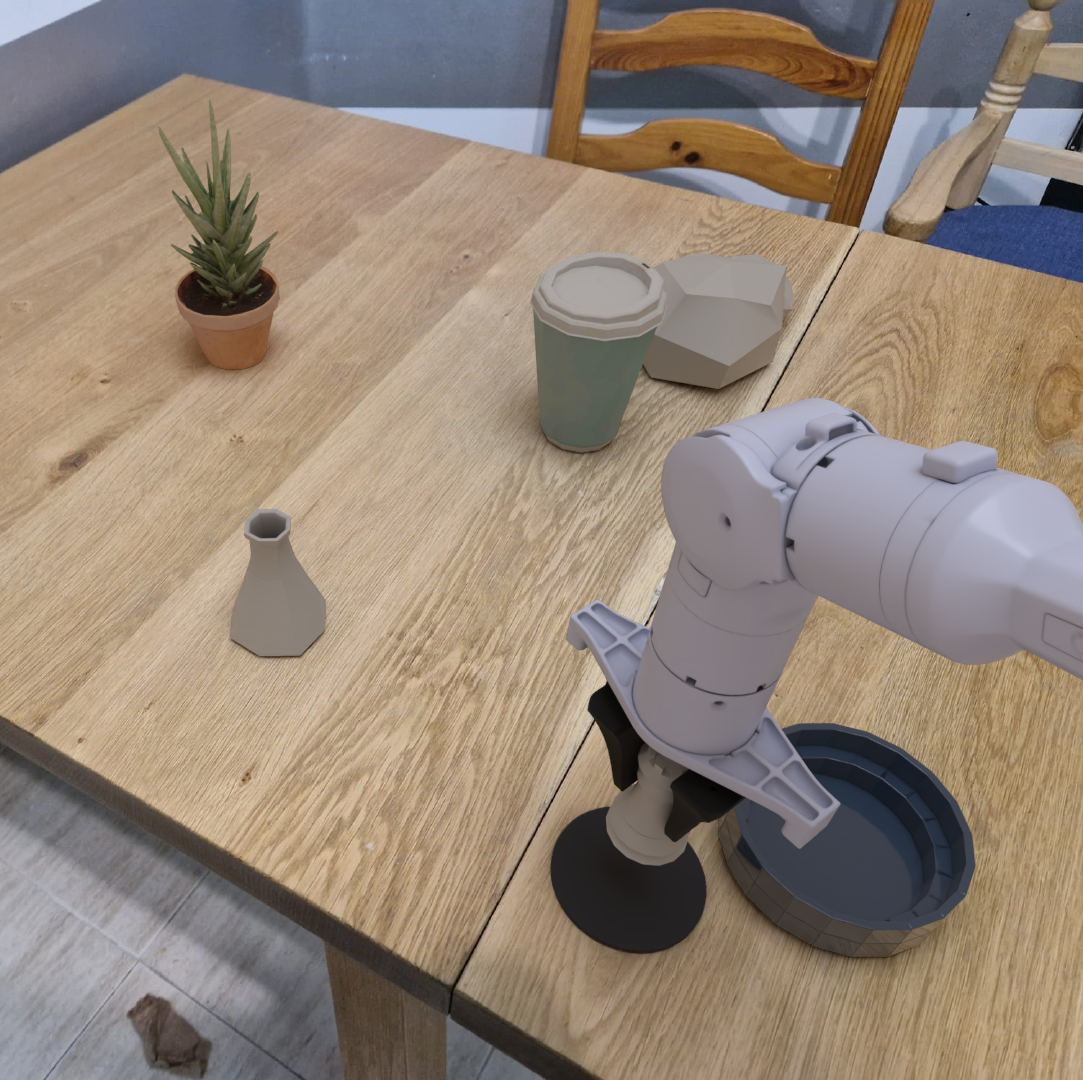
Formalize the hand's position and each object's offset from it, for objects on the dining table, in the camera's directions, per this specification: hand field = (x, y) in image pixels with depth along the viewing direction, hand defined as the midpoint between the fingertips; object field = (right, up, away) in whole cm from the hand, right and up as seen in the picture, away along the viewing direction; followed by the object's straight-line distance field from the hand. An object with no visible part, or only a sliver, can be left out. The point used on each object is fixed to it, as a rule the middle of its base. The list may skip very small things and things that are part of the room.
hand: (656, 802), depth 53 cm
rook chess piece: (0, -2, +2) cm, 3 cm away
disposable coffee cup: (+3, +24, +35) cm, 43 cm away
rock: (+18, +33, +45) cm, 59 cm away
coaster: (0, -6, +6) cm, 9 cm away
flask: (-22, +8, +20) cm, 31 cm away
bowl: (+12, -5, +7) cm, 15 cm away
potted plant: (-28, +32, +44) cm, 61 cm away
